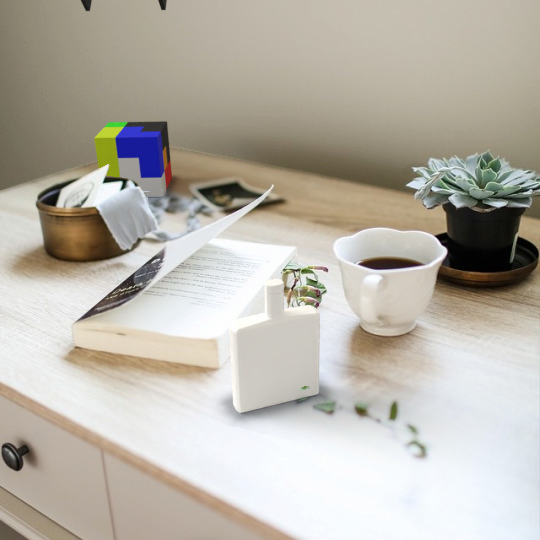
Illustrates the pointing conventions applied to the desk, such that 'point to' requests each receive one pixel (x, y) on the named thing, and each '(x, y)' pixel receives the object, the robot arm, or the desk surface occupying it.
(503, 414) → the desk surface
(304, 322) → the perfume bottle
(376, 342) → the desk surface
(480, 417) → the desk surface
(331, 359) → the desk surface
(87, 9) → the robot arm
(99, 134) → the puzzle toy
